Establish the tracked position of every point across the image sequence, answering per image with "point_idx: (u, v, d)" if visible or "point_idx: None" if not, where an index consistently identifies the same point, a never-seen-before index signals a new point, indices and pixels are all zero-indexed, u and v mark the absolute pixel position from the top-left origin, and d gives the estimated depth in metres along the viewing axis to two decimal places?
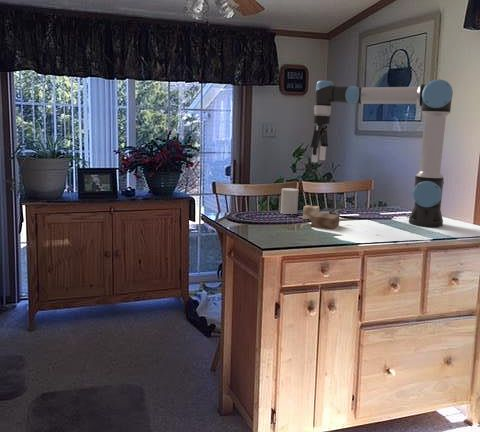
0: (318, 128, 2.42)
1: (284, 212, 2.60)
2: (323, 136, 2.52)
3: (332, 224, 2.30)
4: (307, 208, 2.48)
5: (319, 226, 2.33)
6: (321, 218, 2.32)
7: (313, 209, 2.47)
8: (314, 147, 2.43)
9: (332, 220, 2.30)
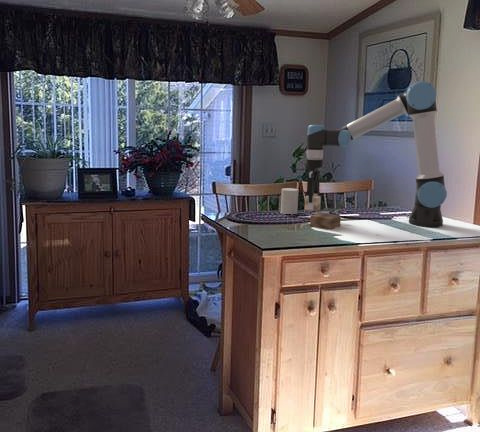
0: (311, 176, 2.41)
1: (284, 212, 2.60)
2: (315, 180, 2.50)
3: (329, 224, 2.30)
4: None
5: (317, 226, 2.33)
6: (319, 218, 2.32)
7: (315, 199, 2.46)
8: (310, 195, 2.45)
9: (329, 220, 2.30)
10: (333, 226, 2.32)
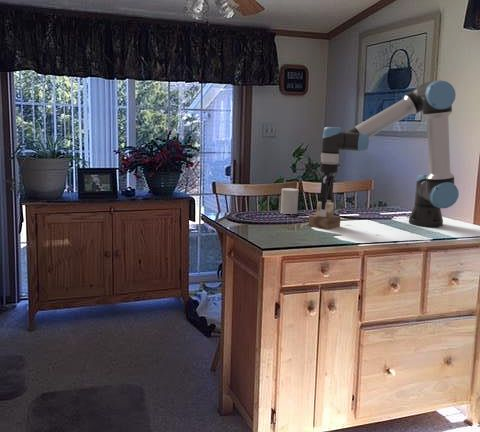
0: (325, 181, 2.27)
1: (284, 212, 2.60)
2: (329, 186, 2.35)
3: (327, 224, 2.30)
4: None
5: (315, 226, 2.34)
6: (317, 218, 2.33)
7: (328, 205, 2.32)
8: (323, 201, 2.30)
9: (327, 220, 2.30)
10: (331, 226, 2.32)
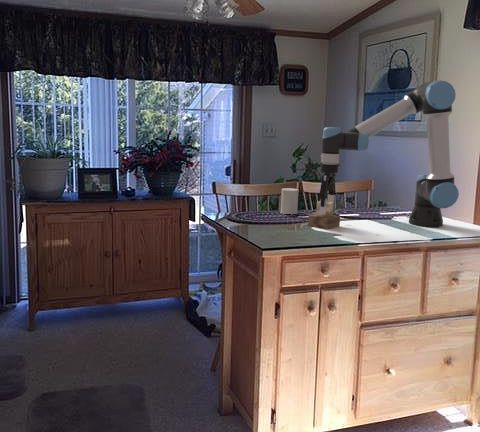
0: (326, 178, 2.26)
1: (284, 212, 2.60)
2: (331, 185, 2.36)
3: (326, 224, 2.30)
4: None
5: (315, 225, 2.34)
6: (317, 217, 2.33)
7: (327, 205, 2.32)
8: (322, 199, 2.27)
9: (326, 220, 2.30)
10: (330, 226, 2.32)
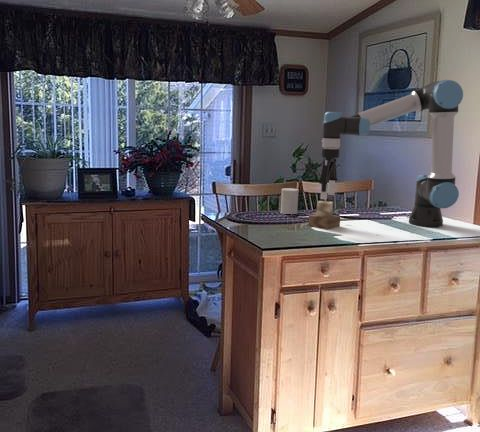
0: (327, 163, 2.25)
1: (284, 212, 2.60)
2: (332, 170, 2.35)
3: (326, 224, 2.30)
4: (321, 204, 2.33)
5: (315, 225, 2.34)
6: (317, 217, 2.33)
7: (328, 205, 2.32)
8: (323, 183, 2.26)
9: (326, 220, 2.30)
10: (330, 226, 2.32)
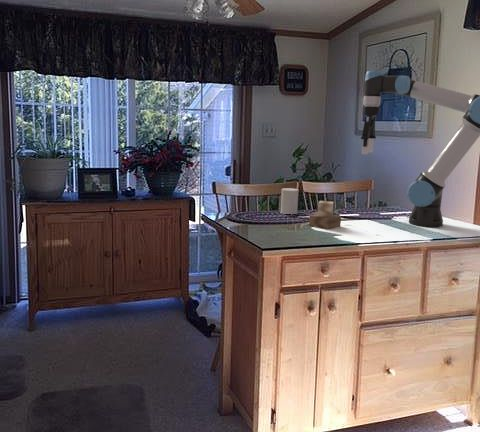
0: (369, 119, 2.37)
1: (284, 212, 2.60)
2: (372, 128, 2.47)
3: (327, 224, 2.30)
4: (323, 204, 2.33)
5: (316, 225, 2.34)
6: (317, 217, 2.33)
7: (329, 205, 2.32)
8: (365, 139, 2.37)
9: (327, 220, 2.30)
10: (331, 226, 2.32)
